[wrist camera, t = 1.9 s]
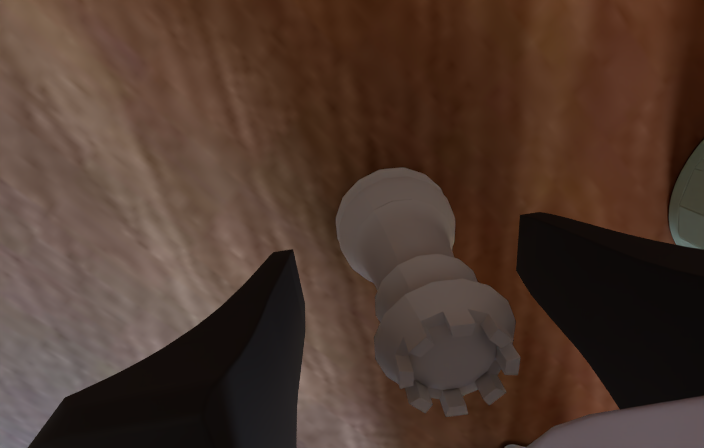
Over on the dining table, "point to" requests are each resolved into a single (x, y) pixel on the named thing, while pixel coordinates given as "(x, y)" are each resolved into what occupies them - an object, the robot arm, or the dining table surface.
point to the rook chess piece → (425, 293)
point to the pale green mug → (689, 203)
